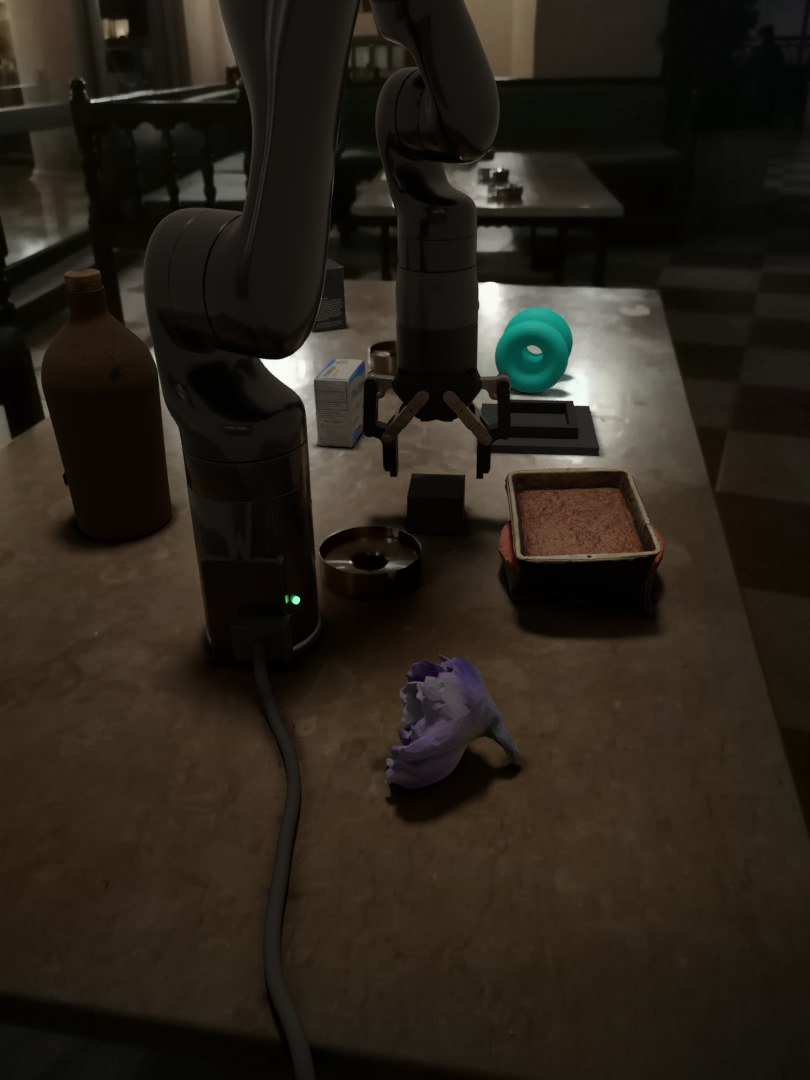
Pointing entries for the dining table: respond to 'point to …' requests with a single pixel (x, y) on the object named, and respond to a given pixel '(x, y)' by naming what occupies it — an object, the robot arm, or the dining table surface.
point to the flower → (443, 722)
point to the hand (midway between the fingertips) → (437, 474)
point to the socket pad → (545, 428)
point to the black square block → (436, 503)
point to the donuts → (526, 366)
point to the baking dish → (580, 538)
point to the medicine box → (340, 402)
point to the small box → (332, 300)
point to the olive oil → (106, 417)
